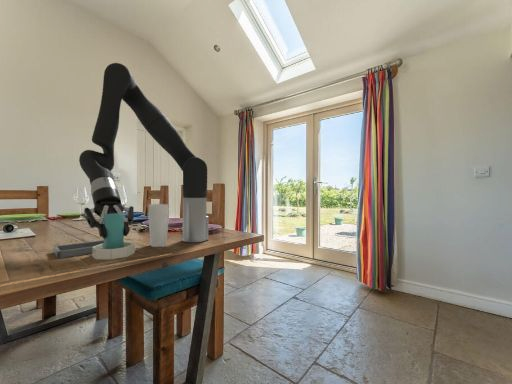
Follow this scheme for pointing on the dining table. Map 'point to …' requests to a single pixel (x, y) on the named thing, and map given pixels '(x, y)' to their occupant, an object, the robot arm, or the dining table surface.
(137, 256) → the dining table surface
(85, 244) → the parts tray
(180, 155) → the robot arm
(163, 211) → the drinking glass
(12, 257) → the dining table surface
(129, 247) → the cream bowl
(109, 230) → the teal cylinder
